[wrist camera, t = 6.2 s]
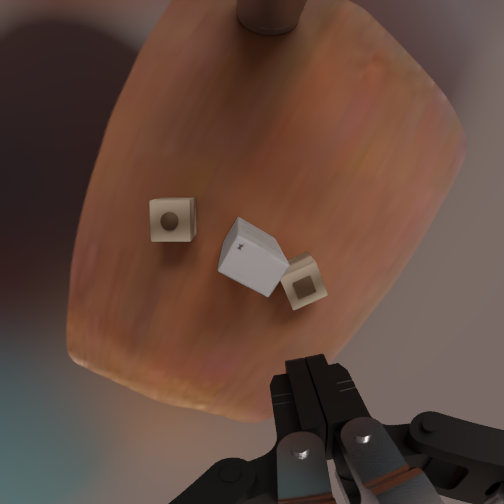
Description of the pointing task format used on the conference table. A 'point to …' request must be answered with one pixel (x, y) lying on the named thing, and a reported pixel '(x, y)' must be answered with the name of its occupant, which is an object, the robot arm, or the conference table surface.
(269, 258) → the skincare box
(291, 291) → the marked block
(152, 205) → the marked block
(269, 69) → the conference table surface
